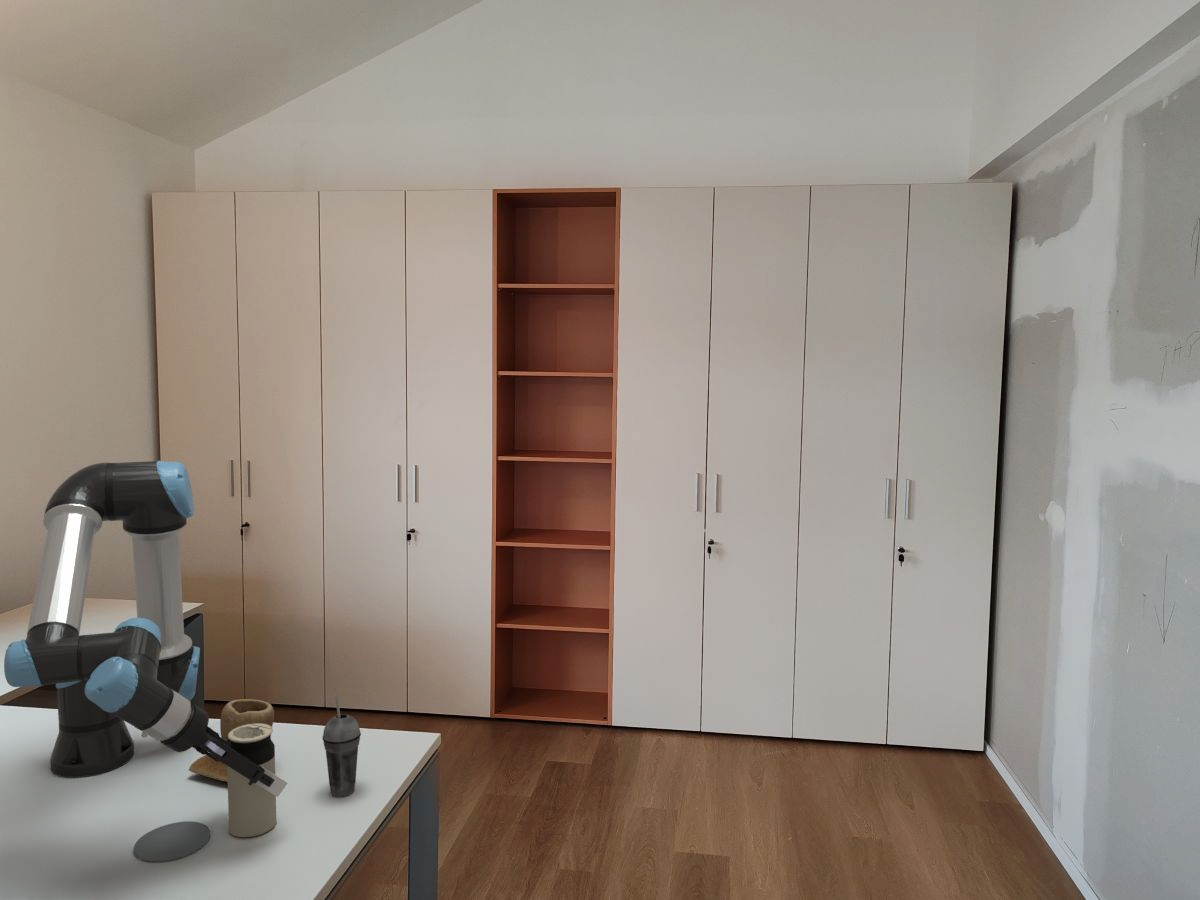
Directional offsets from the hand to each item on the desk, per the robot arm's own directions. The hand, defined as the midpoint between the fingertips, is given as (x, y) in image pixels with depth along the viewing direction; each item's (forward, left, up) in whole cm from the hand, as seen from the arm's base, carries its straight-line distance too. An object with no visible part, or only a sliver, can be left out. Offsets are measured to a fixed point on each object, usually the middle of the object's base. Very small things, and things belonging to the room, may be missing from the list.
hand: (267, 778), depth 153 cm
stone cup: (-22, +4, -8) cm, 24 cm away
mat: (-5, -15, -8) cm, 18 cm away
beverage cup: (0, +15, -8) cm, 17 cm away
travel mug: (0, -3, -8) cm, 9 cm away
